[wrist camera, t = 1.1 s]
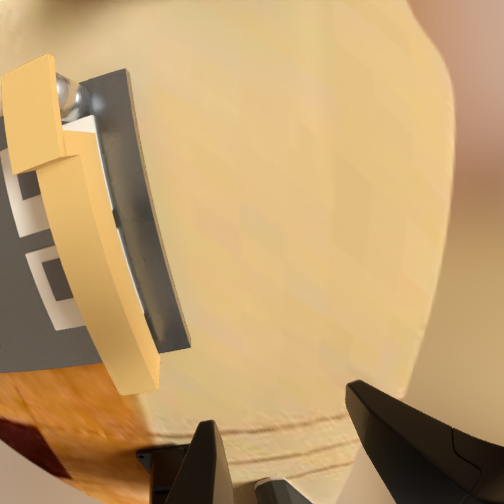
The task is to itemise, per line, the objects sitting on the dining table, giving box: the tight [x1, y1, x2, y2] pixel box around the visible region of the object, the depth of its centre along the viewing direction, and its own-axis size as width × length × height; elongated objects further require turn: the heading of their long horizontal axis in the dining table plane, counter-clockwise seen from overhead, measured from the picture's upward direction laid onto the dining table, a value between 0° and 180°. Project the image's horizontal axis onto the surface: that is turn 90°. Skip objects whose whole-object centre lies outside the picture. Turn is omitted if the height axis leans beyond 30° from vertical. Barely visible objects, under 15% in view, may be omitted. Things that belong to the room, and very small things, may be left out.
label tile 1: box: [25, 228, 144, 331], centre depth 16 cm, size 5×6×1 cm
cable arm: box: [1, 54, 161, 395], centre depth 13 cm, size 16×2×5 cm, turn 9°
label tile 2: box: [0, 115, 113, 238], centre depth 14 cm, size 5×6×1 cm
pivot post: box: [55, 72, 91, 122], centre depth 11 cm, size 2×2×5 cm
